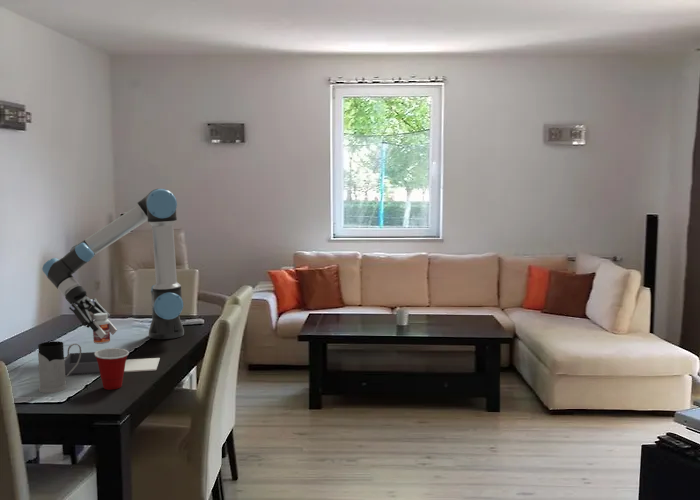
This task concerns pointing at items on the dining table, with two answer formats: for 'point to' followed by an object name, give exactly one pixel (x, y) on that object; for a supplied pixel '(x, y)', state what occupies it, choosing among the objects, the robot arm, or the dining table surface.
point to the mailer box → (90, 366)
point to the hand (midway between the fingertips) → (109, 334)
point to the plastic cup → (111, 366)
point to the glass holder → (53, 366)
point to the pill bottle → (104, 324)
